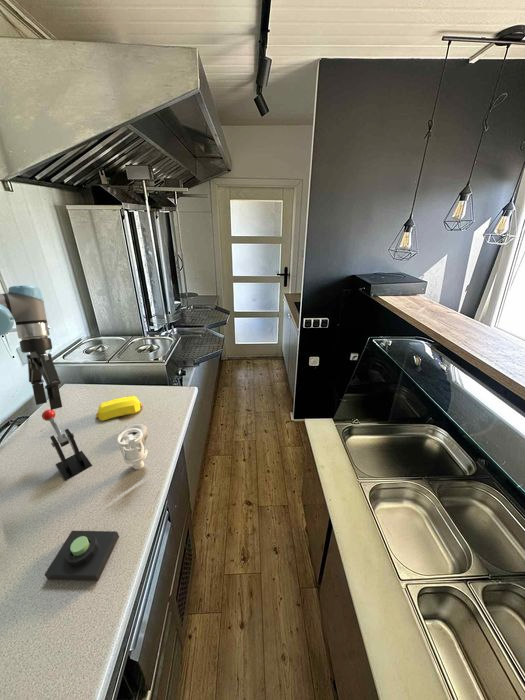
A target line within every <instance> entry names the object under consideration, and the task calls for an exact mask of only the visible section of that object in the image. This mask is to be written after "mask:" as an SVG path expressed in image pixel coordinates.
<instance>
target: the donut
mask: <svg viewBox="0 0 525 700" xmlns="http://www.w3.org/2000/svg"><path fill="white" fill-rule="evenodd" d="M131 428H138V429H140V430H141V431H142V433H143V437H144V440H145V439H146V437H148V436H147V435H148V427H147V426H146V425H145V424H142V423H131V424H129V425H127V426H125V427H124V428H123V429H122V430H120V431H119V435H120V434H121V433H122V432H124V431H126V430H128V429H131ZM130 434H132V435H133V436H138V438H139V436H140V433H139V432H130V433H128V434H126V435H124V436H123V437H122V438H121V440H120V442H122V441H123V439H125V440H126V439H128V438H129V437H128V435H130ZM119 435H118V436H119ZM141 440H142V439H141Z"/></svg>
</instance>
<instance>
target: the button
mask: <svg viewBox="0 0 525 700" xmlns="http://www.w3.org/2000/svg"><path fill="white" fill-rule="evenodd" d="M89 545H90V543H89V541H88V539H87V537H85V536H81V537H79V538H77V539H75V540H74V541H73V543H72V544H71V546H70V550H71V552H72V554H73V555H74V556H80V555H82V554H84V553H85V552H86V551H87V550H88V548H89Z"/></svg>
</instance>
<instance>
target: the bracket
mask: <svg viewBox="0 0 525 700" xmlns="http://www.w3.org/2000/svg"><path fill="white" fill-rule="evenodd" d="M64 433H65V435H66V437H67V438H68V440H69V444H70V447H71V449H72V451H73V454H72V455H70V456H69V457H66V456H65V455H64V452H63V449H62V447H61V445H60V443H59V442H58V439H57V437H55V435H54V434H53V435H51V436H49V439H50V440H51V443H50V444H51V447H52V448H54V449H55V451H56V453H57V455H58V458H59V460H60V461H59V462H57V463H56V464H55V466H56V468H57V470H58V471H59V473H60V475H61V476H62V478H63V481H65V482H67V481H69V480H70V479H72V478H73V477H75V476H77V475H79V474H80V473H83V472H84V471H86V470H87V469H90V468H91V467H93V464H92V463H91V461H90V460H89V458H88V457H87V456H86V455H85V453H84V452H83V450H79V447H78V444H77V442H76V440H75V434H74V433H73V432H71V430H69V428H66V429H64Z"/></svg>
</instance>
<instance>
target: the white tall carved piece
mask: <svg viewBox="0 0 525 700" xmlns="http://www.w3.org/2000/svg"><path fill="white" fill-rule="evenodd" d="M130 432H139V433H140V436H139V438H138V436H133V435H134V434H133V433H131V434H130V435H128V437H129V438H128V439H126V440H125V439H123V441H122V442H120V440H121V438H122V437H123V436H124V435H126V434H128V433H130ZM119 434H120V433H119ZM141 439H142V440H141ZM117 443H118V446H119V450H120V453H121V455H122V457H123V462H124V463H125V464H127V465H133V468H134V470H140V469H142V468H143V467H144V466H145V463H144V460H145V459H146V457H147V456H148V453H149V452H148V449H147V444H146V441H145V439H144V437H143V433H142V431H141V430H140V429H138V428H131V429H128V430H126V431H124V432H122V433H121V434H120V435H118V436H117Z"/></svg>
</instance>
